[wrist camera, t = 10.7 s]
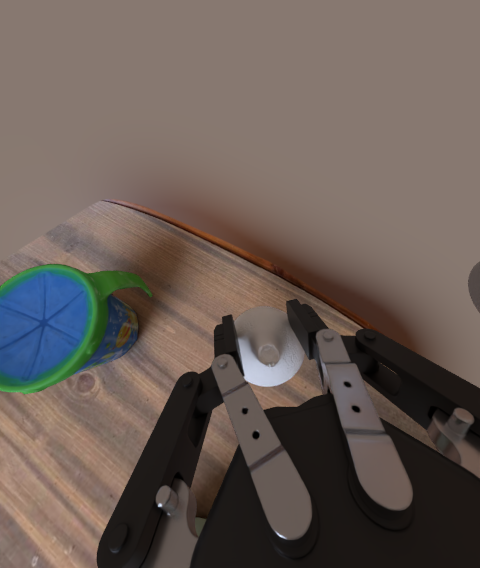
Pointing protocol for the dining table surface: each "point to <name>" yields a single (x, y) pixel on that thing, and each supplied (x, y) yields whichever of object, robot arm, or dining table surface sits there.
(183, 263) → the dining table surface
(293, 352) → the garlic bulb
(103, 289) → the snack cup
